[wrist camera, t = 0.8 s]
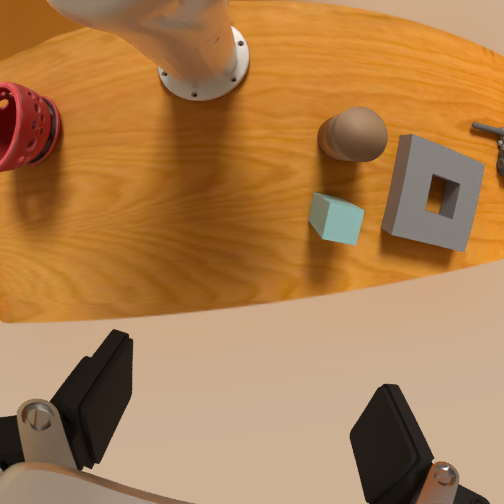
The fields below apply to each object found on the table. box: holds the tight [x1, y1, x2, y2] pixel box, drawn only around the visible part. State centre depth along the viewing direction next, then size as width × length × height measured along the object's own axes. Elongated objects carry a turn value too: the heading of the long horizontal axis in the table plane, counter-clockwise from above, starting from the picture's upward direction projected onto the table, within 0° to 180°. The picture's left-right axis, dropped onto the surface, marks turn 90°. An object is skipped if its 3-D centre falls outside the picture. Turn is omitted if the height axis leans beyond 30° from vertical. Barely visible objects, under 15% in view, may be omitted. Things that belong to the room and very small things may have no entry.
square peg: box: [308, 192, 365, 245], centre depth 37 cm, size 4×4×10 cm
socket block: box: [381, 134, 485, 252], centre depth 38 cm, size 14×14×4 cm
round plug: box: [317, 107, 387, 162], centre depth 34 cm, size 6×6×10 cm
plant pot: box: [0, 82, 60, 172], centre depth 33 cm, size 13×13×12 cm
